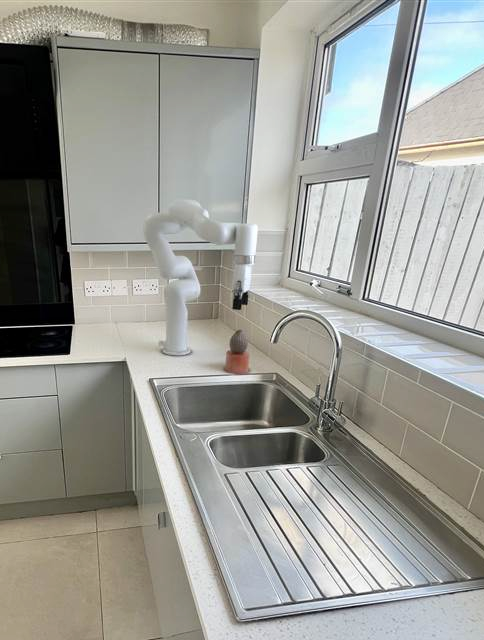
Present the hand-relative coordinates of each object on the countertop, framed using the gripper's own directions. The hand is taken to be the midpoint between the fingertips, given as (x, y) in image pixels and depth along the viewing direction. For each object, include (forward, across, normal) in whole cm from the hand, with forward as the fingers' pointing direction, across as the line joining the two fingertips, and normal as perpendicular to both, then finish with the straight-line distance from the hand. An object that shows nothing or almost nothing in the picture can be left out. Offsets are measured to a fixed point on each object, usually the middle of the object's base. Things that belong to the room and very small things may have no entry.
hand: (240, 307), depth 153 cm
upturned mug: (+25, -1, +1) cm, 25 cm away
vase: (+18, +1, +1) cm, 18 cm away
